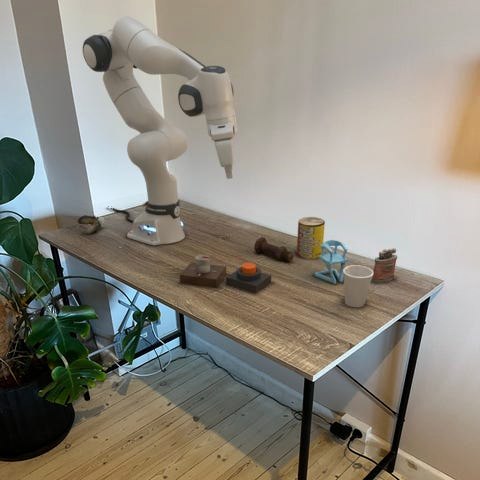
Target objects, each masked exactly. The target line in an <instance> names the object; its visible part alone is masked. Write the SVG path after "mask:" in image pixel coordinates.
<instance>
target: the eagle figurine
mask: <svg viewBox="0 0 480 480" xmlns="http://www.w3.org/2000/svg"><path fill="white" fill-rule="evenodd" d="M105 220H106V219H105V218H104V217H103V216H96V215H95V214H94V215H92V216H91V215H87V214H84V215H81V216H80V217H79V218H78V219H77V224H78V225H90V226H89V227H88V228H87V229H86V230H84V231H83V235H92V234H93V233H95V232H96V230H98V229H102V228H103V227H102V225H104V224H105Z"/></svg>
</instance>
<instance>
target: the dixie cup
mask: <svg viewBox="0 0 480 480" xmlns="http://www.w3.org/2000/svg"><path fill="white" fill-rule="evenodd" d="M343 273H344V274H343V291H344V293H343V294H344V304H345V305H346V306H348V307H351V308H361V307H363V306H365V303H366V300H367V296H368V293H369V290H370V285H371V283H372V278H373V274H374V270H373V269H372V268H370V267H368V266H364V265H359V264H353V265H348V266H345V268H344V270H343Z"/></svg>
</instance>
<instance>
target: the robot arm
mask: <svg viewBox="0 0 480 480" xmlns="http://www.w3.org/2000/svg"><path fill="white" fill-rule="evenodd" d="M82 56H83V59H84V61H85V63H86V65H87V66H88V67H89V68H90V70H91V71H93V72H96V73H103V74H102V81H103V85H104V87H105V89H106V92H107V93H108V96H109V98H110V100H111V102H112V103H113V105H114V107H115V108H116V110H117V113H119V115H120V117H121V119H122V120H123V121H124V123H125V125H126V126H128V128H130V129H133V130H135V131H136V132H138V135H135V136H133V137H132V138H130V139H129V141H128V143H127V146H126V147H127V148H126V152H127V156H128V158H129V160H130V162H131V163H132V164H133V165H134V166H136V167H137V168H138V169H139V170H140V172H141V173H142V176H143V178H144V182H145V186H146V193H147V194H146V195H147V201H145V202H144V203H142V204H141V205H142V207H143V208H144V207H145V208H144V211H143V212H142V213H141V214H139V215H138V216H137V217H136V218H134V220H133V219H131V218H129V217H130V212H129V211H128V210H122V209H116V208H115V207H113V209H112V208H110V209H111V210H113V211H114V212H118V213H123V214H126V215H125V219H126V220H127V221H128V222H130V223H132V229H131V230H129V232H127V235H126V237H127V238H128V239H130V240H134V241H137V242H140V243H143V244H147V245H149V246H159V245H166V244H167V245H169V244H174V243H178V242H180V241H183V240H184V239H185V238H186V234H185V231H184V228H183V227H184V223H183V222H182V219H181V203H180V200H179V191H178V190H179V189H178V181H177V178H176V177H175V176H174V175H173V174H171V173H170V171H169V169H168V166H167V162H169V161H173V160H176V159H178V158H179V157H181V156H182V155H184V154H185V153H186V151H187V150H188V145H189V142H188V141H189V140H188V137H187V135H186V133H185V132H184V130H182V129H181V128H179V127H176V126H174V125H173V124H171V123H170V122H169V121H168V120H167V119H165V118H164V117H163V116H162V115H161V114H160V112H159V111H157V110H156V108H155V107H154V105H153V104H152V103H151V101H150V100H149V98H148V96H147V95H146V93H145V92H144V90H143V88H142V87H141V85H140V84H139V82H138V80H137V79H136V77H135V74H134V69H138V70H140V71H141V72H143V73H145V74H148V75H151V76H154V75H155V76H156V75H176V76H177V75H178V76H181V77H184V78H185V79H187V80H188V81H187V82H186V83H184V84H182V85H181V86H180V87H179V90H178V94H177V101H178V105H179V107H180V109H181V111H182V112H183V113H184V114H185V115H186V116H188V117H190V118H191V117H195V118H196V117H201V116H205V122H206V128H207V134H208V137H210V138H211V141H212V142H213V143H214V147H215V151H216V154H217V158H218V162H219V165H220V167H221V168H224V172H225V177H226V179H227V180H230V179H233V165H234V149H233V148H234V145H233V141H234V139H235V135H236V133H238V130H239V129H238V121H237V116H236V111H235V108H234V92H235V91H234V86H233V84H232V81H231V79H230V76H229V73H228V71H227V69H226V68H225V67H223V66H220V65H207V66H206V65H205V64H203V63H202V62H200V61H199V60H198V59H196V58H195V57H194V56H192V55H190V53H187V52H186V51H184V50H182V49H181V48H179V47H176V46H175V45H173V44H171V43H169V42H167V41H166V40H165V39H163V38H161V37H159V35H157V34H156V33H154V32H153V31H152V30H151V29H150V28H149V27H147V25H145V24H143V23H142V22H140V21H139V20H137V19H135V18H133V17H131V16H122V17H120V18H119V19H117V20H116V22H115V23H114V25H113V27H112V29H109V30H107V31H104V32H103V31H102V32H100V33H98V34H93V35H90V36H89V37H87V38H86V39H84V41H83V43H82Z"/></svg>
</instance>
